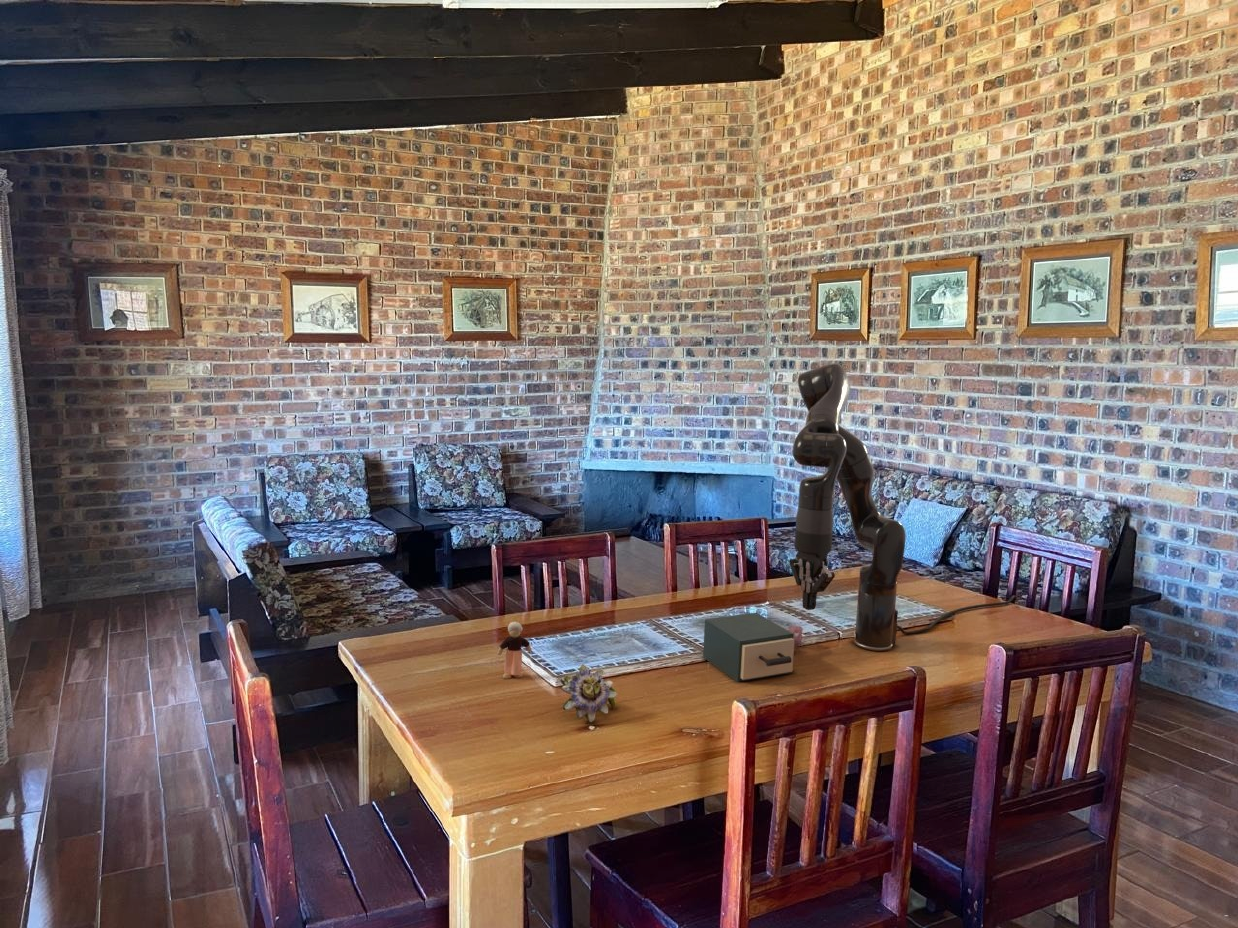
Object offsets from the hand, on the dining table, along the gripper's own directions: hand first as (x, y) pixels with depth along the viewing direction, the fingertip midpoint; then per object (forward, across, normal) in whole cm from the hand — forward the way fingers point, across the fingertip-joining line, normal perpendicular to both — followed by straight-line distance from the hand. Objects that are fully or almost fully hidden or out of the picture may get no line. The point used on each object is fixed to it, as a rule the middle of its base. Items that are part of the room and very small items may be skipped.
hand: (808, 608), depth 184 cm
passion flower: (+21, +12, +45) cm, 51 cm away
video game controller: (+21, +27, -16) cm, 38 cm away
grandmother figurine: (+21, +35, +53) cm, 67 cm away
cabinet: (+21, +22, 0) cm, 30 cm away
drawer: (+20, +18, 0) cm, 27 cm away
